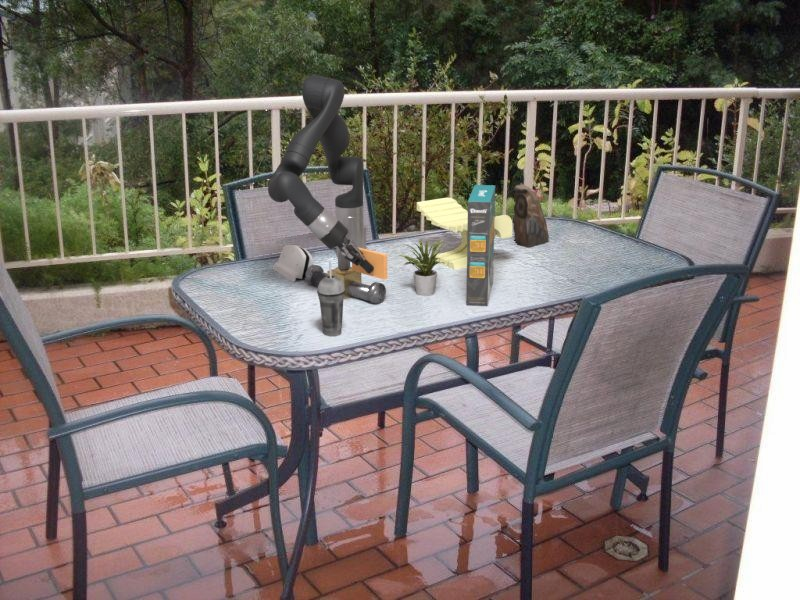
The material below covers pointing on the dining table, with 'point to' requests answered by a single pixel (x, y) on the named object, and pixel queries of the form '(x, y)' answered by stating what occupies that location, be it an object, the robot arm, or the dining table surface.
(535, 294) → the dining table surface
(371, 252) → the lever
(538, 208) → the owl
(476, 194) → the cake mix box
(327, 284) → the beverage cup
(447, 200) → the slatted curved stool
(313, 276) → the valve
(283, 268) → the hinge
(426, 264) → the house plant
